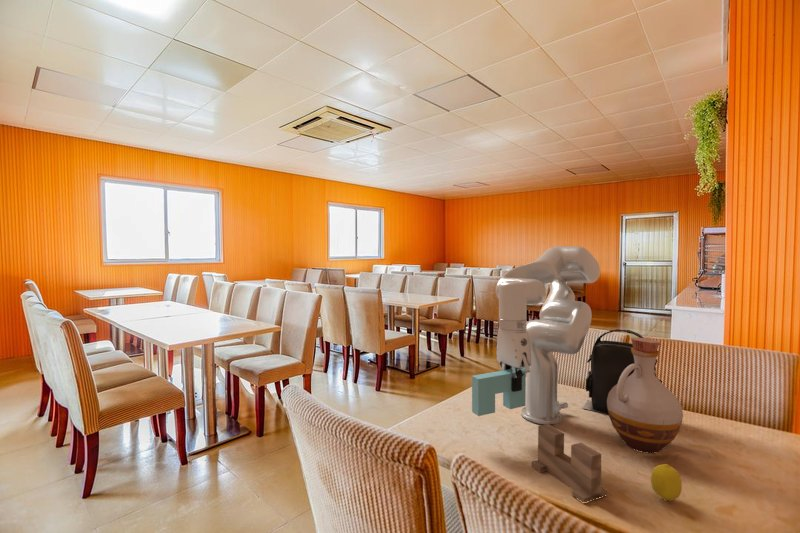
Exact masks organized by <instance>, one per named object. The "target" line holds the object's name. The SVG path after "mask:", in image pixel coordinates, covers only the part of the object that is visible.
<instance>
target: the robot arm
mask: <svg viewBox="0 0 800 533" xmlns="http://www.w3.org/2000/svg"><path fill="white" fill-rule="evenodd" d="M600 276H601V269H600V264H599V262H598V260H597V258H595V256H594V255H593V254H592V253H591V252H590V251H589V250H588V249H587V248H585V247H583V246H580V245H574V246H573V245H569V246H568V245H556V246H552V247H549V248H547V249H546V250H545V251H544V252H543V253H542V254H541V255H540V256H539V257H538V258H537V259H535V261H532V262H531V261H530V262H528V263H525V264H522V265H520V266H517V267H514V268H512V269H511V268H510V270H508V271H507V272H506V273H504V274H503V275H502V276H501V277H500V278H499V279H498V281H497V283H496V285H495V294H496V297H497V299H498V330H497V334H496V335H497V337H496V358H495V359H496V361H497V362H498V364H499V365H500V367H501V371H503V370H509V369H513V377H512V382H511V390H512V391H513V392H516V391H521V390H522V377H523V376H524V374H525V373H526V405H525V406H523V407H521V411H520V413H521V414H520V415H521V416H522V417H523V418H524V419H525V420H527V421H529V422H532V423H534V424H539V425H545V424H549V425H555V424H559V423H561V422H562V420H563V415H562V413H561V410H562V409H567V408H568V407H569V404H568V402H567V401H562V402H559V401H558V383H559V382H558V381H559V380H558V374H559V371H558V370H559V367H558V366H559V363H558V362H557V359H556V356H555V355H554V353H559V354H563V355H565V354H566V355H576V354H577V353H579V352H580V350H581V348H582V346H583V344H584V342H585V339H586V337H587V334H588V331H589V329H590V327H591V324H592V316H593V315H592V309H591V307H590V305H589V304H588V303H586V302H584V301H578V300H575V299H576V295H575V293H574V291H573V290H572V287H570V286H569V285H568V284H567V283H579V284H580V283H583V284H593V283H595V282H596V281H598V279H599V278H600ZM545 285H549V286H548V287H549V293H548V295H547V289H546V288H547V287H546V286H545ZM546 295H547V297H546ZM545 298H546V299H545ZM544 299H545V300H544ZM543 301H544V303H543V304H542V307H541V308H540V311H539V314H538V316H539V319H532V320H530V321H528V322H527V308H528V307H527V306H530V305H531V306H534V305H535V306H536V305H539V304H541V303H542V302H543ZM517 369H519V370H518V371H517Z"/></svg>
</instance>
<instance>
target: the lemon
mask: <svg viewBox="0 0 800 533" xmlns="http://www.w3.org/2000/svg"><path fill="white" fill-rule="evenodd" d="M650 483H651V486H652V490H653V491H654V492H655V494H656V495H658V496H659V497H660V498H661V499H663V500H664V499H665V500H668V501H672V500H675V499H678V497H680V495H681V493H682V489H683V487H682V486H683V484H682V478H681V476H680V474H679V473H678V471H677V469H675V468H674V467H672V466H670V465H669V464H667V463H664V464H659V465H656V466H655V467H654V468H653V469H652V472H651V475H650ZM665 500H664V501H665Z"/></svg>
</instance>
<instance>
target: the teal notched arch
mask: <svg viewBox="0 0 800 533" xmlns="http://www.w3.org/2000/svg"><path fill="white" fill-rule="evenodd" d="M518 370H519V369H517V371H518ZM512 377H513V368H512V369H509V370H503V371H502V370H499V371H493V372H486V373H480V374H474V375H471V407H472V408H471V412H472V413H473V414H474V415H476V416H477V417H481V416H486V415H490V414H494V413H496V395H497V394H502V404H503V405H502V406H504V407H506V409H509V410H514V409H518V408H524V407H526V382H527V373H525V374H524V376H523V377H522V390H521V391H516V392H513V391H512V390H511V382H512Z"/></svg>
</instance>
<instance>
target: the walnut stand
mask: <svg viewBox="0 0 800 533" xmlns="http://www.w3.org/2000/svg"><path fill="white" fill-rule="evenodd" d="M537 429H538V430H537V460H534V461H533V460H532V461H531V468H533V469H535V470H536V471H537V472H539V473H543V472H548V473H549V474H551V475H552V476H553V477H554V478H556V479H557V480H559V481H560V482H562V483H563V484H565V485H566V486H568V487H569V488H570V487H571V488H570V489H572V497H573V496H575V497H576V498H578V499H579V500H581V501H582V502H587V501H590V500H593V499H596V498H599V497H602V496H605V495H607V496H608V490H607V489H605V488H603V487H602V453H601V452H599V451H597V450H596V449H593V448H592V447H590V446H589V445H587V444H584V443H582V442H578V443H573V444H571V446H570V456H569V455H568V454H566V453H565V432H563V431H561V430H560V429H558V428H556V427H554V426H552V424H539V425H538V427H537ZM573 489H574V490H573ZM576 498H575V499H576ZM579 500H578V501H579Z"/></svg>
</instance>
